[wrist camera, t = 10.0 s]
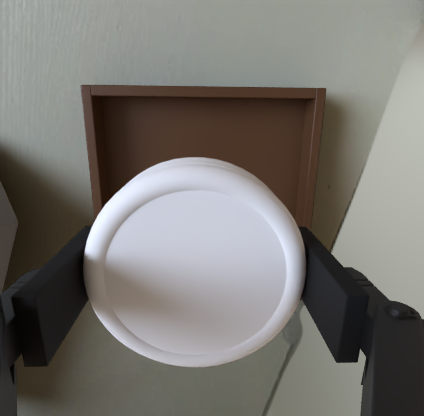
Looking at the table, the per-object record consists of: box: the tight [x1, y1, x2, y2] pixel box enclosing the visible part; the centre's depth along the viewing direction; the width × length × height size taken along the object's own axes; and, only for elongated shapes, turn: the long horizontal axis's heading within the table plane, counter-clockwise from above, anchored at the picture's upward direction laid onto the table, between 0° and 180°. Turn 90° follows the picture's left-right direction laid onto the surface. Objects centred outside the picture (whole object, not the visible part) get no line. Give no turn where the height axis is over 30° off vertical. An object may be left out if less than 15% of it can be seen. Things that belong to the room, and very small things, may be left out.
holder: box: [81, 85, 326, 300], centre depth 29 cm, size 20×20×3 cm
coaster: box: [83, 157, 306, 367], centre depth 15 cm, size 10×10×4 cm
